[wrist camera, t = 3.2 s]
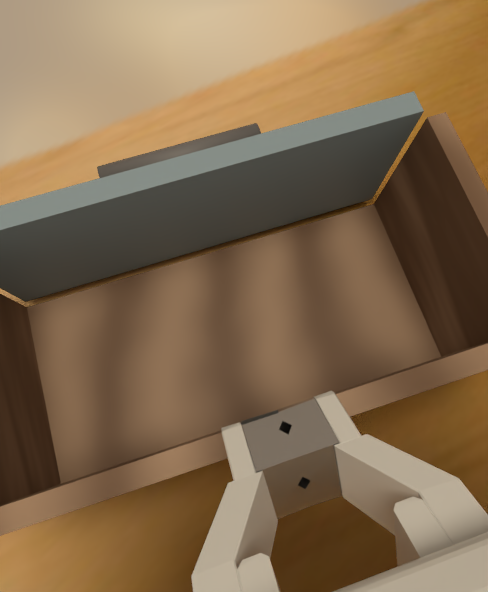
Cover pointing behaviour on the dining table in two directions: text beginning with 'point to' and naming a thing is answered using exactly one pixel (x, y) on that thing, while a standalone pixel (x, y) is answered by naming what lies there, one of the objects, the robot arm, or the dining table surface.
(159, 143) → the dining table surface
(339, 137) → the tailgate
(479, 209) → the crate
